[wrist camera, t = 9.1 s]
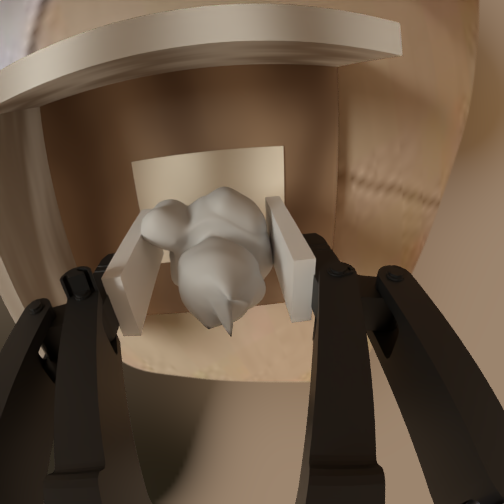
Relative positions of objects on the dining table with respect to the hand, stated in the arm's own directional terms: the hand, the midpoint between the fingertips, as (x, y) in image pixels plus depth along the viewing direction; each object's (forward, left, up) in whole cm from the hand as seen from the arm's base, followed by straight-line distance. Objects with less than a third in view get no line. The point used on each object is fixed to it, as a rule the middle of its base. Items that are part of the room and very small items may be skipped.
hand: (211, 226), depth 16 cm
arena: (-2, +1, -4) cm, 4 cm away
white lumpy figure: (0, 0, -1) cm, 1 cm away
